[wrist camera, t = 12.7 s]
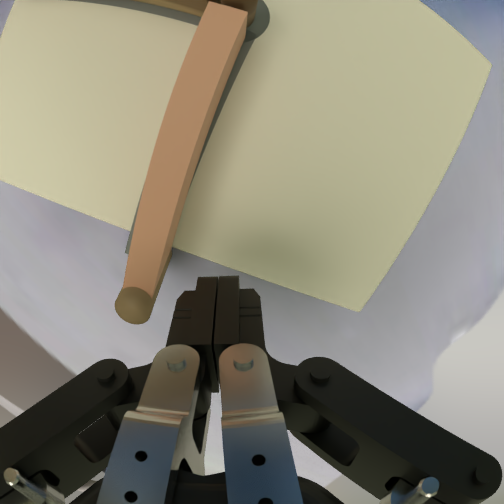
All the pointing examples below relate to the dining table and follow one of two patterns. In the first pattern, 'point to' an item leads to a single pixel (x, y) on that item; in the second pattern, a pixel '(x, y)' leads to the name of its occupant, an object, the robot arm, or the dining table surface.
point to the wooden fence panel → (196, 3)
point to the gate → (178, 155)
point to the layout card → (248, 128)
